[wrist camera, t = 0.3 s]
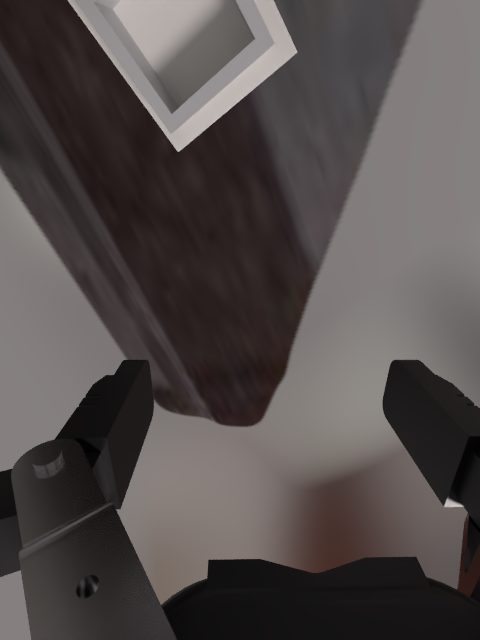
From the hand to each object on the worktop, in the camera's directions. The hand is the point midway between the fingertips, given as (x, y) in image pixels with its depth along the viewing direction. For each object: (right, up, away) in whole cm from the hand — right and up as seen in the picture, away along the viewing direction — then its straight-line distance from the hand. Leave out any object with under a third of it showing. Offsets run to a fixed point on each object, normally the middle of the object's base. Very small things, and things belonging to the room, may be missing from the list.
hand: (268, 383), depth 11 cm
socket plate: (-5, +26, +16) cm, 31 cm away
